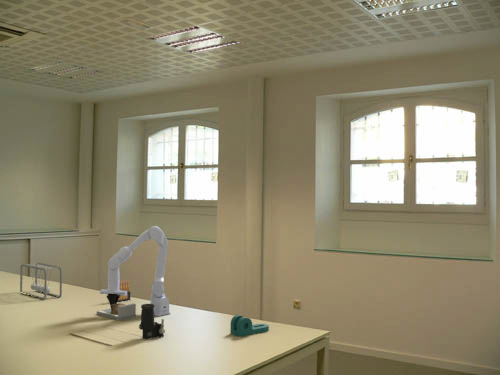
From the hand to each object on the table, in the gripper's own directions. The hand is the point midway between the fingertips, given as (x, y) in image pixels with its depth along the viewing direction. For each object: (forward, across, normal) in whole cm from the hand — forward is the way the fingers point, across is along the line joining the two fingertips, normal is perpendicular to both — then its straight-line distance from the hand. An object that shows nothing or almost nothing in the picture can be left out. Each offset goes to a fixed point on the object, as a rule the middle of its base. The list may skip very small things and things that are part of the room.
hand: (113, 309), depth 264 cm
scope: (+3, -37, +30) cm, 48 cm away
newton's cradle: (+3, +67, -27) cm, 73 cm away
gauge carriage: (+1, -4, +2) cm, 5 cm away
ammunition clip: (+3, +14, -30) cm, 34 cm away
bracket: (+3, -75, +6) cm, 75 cm away
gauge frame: (+3, -2, +1) cm, 4 cm away
